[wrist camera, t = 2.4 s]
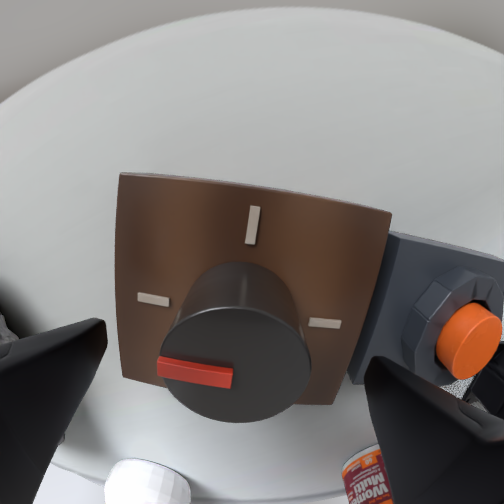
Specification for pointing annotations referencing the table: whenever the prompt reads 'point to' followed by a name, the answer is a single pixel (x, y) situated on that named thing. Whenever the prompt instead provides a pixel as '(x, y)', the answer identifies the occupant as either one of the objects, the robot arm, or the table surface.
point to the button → (468, 340)
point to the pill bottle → (367, 478)
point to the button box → (423, 303)
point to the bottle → (145, 484)
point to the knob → (236, 346)
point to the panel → (243, 250)
